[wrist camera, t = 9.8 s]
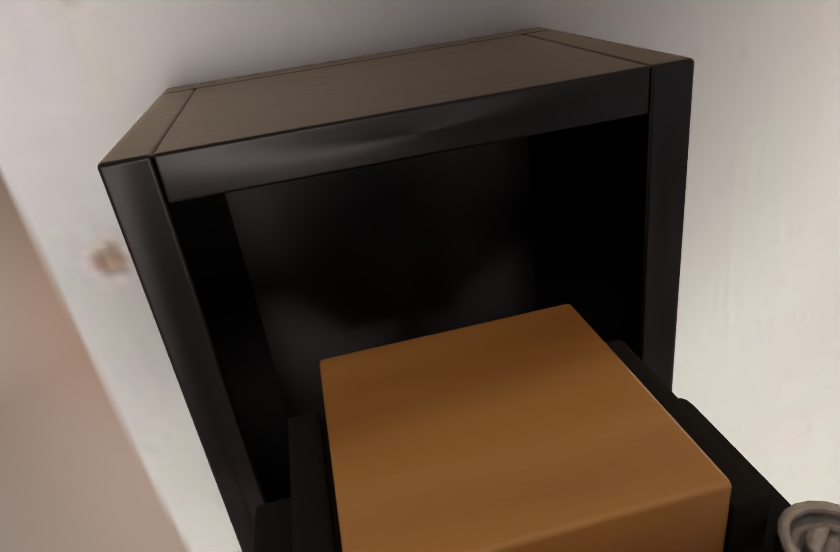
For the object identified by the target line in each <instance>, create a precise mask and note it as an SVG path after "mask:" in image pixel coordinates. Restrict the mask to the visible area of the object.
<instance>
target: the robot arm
mask: <svg viewBox="0 0 840 552" xmlns="http://www.w3.org/2000/svg"><path fill="white" fill-rule="evenodd" d="M606 344H607V345H608V347H609V348H610V349H611V350H612V351H613V352H614V353H615V354H616V355H617V356H618V358H619V359H620V360H621V361H622V362H623V363H624V364H625V365H626V366H627V368H628V369H629V370H630V371H631V372H632V373H633V374H634V375H635V376H636V377H637V379H638V380H639V381H640V382H641V383H642V384H643V385H644V386H645V387H646V389H647V390H648V391H649V392H650V393H651V394H652V395H653V396H654V397H655V398H656V400H657V401H658V402H659V403H660V404H661V405H662V406H663V407H664V408H665V410H666V411H667V412H668V413H669V414H670V415H671V416H672V417H673V418H674V419H675V421H676V422H677V423H678V424H679V425H680V426H681V427H682V428H683V429H684V431H685V432H686V433H687V434H688V435H689V436H690V437H691V438H692V439H693V440H694V442H695V443H696V444H697V445H698V446H699V447H700V448H701V449H702V450H703V452H704V453H705V454H706V455H707V456H708V457H709V458H710V459H711V460H712V461H713V463H714V464H715V465H716V466H717V467H718V468H719V469H720V470H721V471H722V473H723V474H724V475H725V476H726V477H727V478H728V479H729V481H730V483H731V486H732V488H731V496H730V504H729V511H728V519H727V526H726V534H725V541H724V549H723V552H840V505H838V504H834V503H830V502H826V501H805V502H800V503H795V504H793V505H792V506H791V505H790V503H789V502H788V501H787V500H786V499H785V498H784V497H783V496H782V495H781V494H780V493H779V492H778V491H777V490H776V489H775V488H774V487H773V486H772V485H771V484H770V483H769V482H768V481H767V480H766V479H765V478H764V477H763V476H762V475H761V474H760V473H759V472H758V471H757V470H756V469H755V468H754V467H753V466H752V465H751V464H750V463H749V462H748V461H747V460H746V459H745V458H744V456H743V455H742V454H741V453H740V452H739V451H738V450H737V449H736V448H735V447H734V446H733V445H732V444H731V443H730V442H729V441H728V440H727V439H726V438H725V437H724V436H723V435H722V434H721V433H720V432H719V431H718V430H717V429H716V428H715V427H714V426H713V425H712V424H711V423H710V422H709V421H708V420H707V419H706V418H705V417H704V416H703V415H702V414H701V413H700V412H699V411H698V409H697V408H696V407H695V406H694V405H692V404H691V403H690V402H689V401H687V400H685V399H682V398H679V399H678V398H677V397H676V396H675V395H674V394H673V393H672V391H671V390H670V389H669V388H668V387H667V386H666V385H665V384H664V383H663V382H662V381H661V380H660V379H659V378H658V377H657V376H656V375H655V374H654V373H653V372H652V371H651V370H650V369H649V368H648V366H647V365H646V364H645V363H644V362H643V361H642V360H641V359H640V358H639V357H638V356H637V355H636V354H635V353H634V352H633V351H632V350H631V349H630V348H629V347H628V346H627V345H626V344H625V343H624V342H623V341H622V340H615V341H610V342H606ZM288 436H289V463H290V489H291V497H290V498H286V499H282V500H278V501H274V502H270V503H266V504H263V505H259V506H257V508H256V514H255V539H254V552H342V544H341V536H340V528H339V520H338V512H337V504H336V496H335V487H334V479H333V471H332V463H331V455H330V447H329V439H328V431H327V422H326V418H323V419H322V418H321V414H320V412H319V411H317V412H312V413H308V414H304V415H300V416H296V417H291V418H289V419H288Z"/></svg>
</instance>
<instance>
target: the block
mask: <svg viewBox="0 0 840 552" xmlns="http://www.w3.org/2000/svg"><path fill="white" fill-rule="evenodd" d="M319 366H320V374H321V382H322V390H323V398H324V406H325V414H326V422H327V431H328V439H329V447H330V455H331V463H332V471H333V479H334V487H335V496H336V504H337V512H338V520H339V528H340V536H341V544H342V552H723V549H724V541H725V534H726V526H727V519H728V511H729V504H730V496H731V488H732V486H731V483H730V481H729V479H728V478H727V477H726V476H725V475H724V474H723V473H722V471H721V470H720V469H719V468H718V467H717V466H716V465H715V464H714V463H713V461H712V460H711V459H710V458H709V457H708V456H707V455H706V454H705V453H704V452H703V450H702V449H701V448H700V447H699V446H698V445H697V444H696V443H695V442H694V440H693V439H692V438H691V437H690V436H689V435H688V434H687V433H686V432H685V431H684V429H683V428H682V427H681V426H680V425H679V424H678V423H677V422H676V421H675V419H674V418H673V417H672V416H671V415H670V414H669V413H668V412H667V411H666V410H665V408H664V407H663V406H662V405H661V404H660V403H659V402H658V401H657V400H656V398H655V397H654V396H653V395H652V394H651V393H650V392H649V391H648V390H647V389H646V387H645V386H644V385H643V384H642V383H641V382H640V381H639V380H638V379H637V377H636V376H635V375H634V374H633V373H632V372H631V371H630V370H629V369H628V368H627V366H626V365H625V364H624V363H623V362H622V361H621V360H620V359H619V358H618V356H617V355H616V354H615V353H614V352H613V351H612V350H611V349H610V348H609V347H608V345H607V344H606V343H605V342H604V341H603V340H602V339H601V338H600V337H599V335H598V334H597V333H596V332H595V331H594V330H593V329H592V328H591V327H590V326H589V324H588V323H587V322H586V321H585V320H584V319H583V318H582V317H581V316H580V314H579V313H578V312H577V311H576V310H575V309H574V308H573V307H572V306H571V305H570V304H564V305H559V306H555V307H551V308H546V309H542V310H537V311H533V312H529V313H524V314H520V315H515V316H511V317H507V318H502V319H498V320H493V321H489V322H485V323H480V324H476V325H471V326H467V327H463V328H458V329H454V330H449V331H445V332H441V333H436V334H432V335H428V336H423V337H419V338H414V339H410V340H406V341H401V342H397V343H392V344H388V345H384V346H379V347H375V348H370V349H366V350H362V351H357V352H353V353H348V354H344V355H340V356H335V357H331V358H326V359H323V360H321V361H320V364H319Z"/></svg>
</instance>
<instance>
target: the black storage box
mask: <svg viewBox="0 0 840 552" xmlns="http://www.w3.org/2000/svg"><path fill="white" fill-rule="evenodd" d="M693 72H694V60H693V59H692V58H688V57H683V56H678V55H673V54H669V53H664V52H659V51H654V50H649V49H644V48H639V47H634V46H629V45H625V44H620V43H615V42H610V41H605V40H600V39H595V38H590V37H586V36H581V35H576V34H571V33H566V32H561V31H556V30H550V29H546V28H541V27H538V28H532V29H526V30H520V31H514V32H508V33H502V34H496V35H490V36H484V37H478V38H471V39H465V40H459V41H453V42H447V43H441V44H435V45H429V46H423V47H417V48H411V49H405V50H399V51H393V52H387V53H381V54H375V55H369V56H363V57H357V58H351V59H345V60H339V61H333V62H326V63H320V64H314V65H308V66H302V67H296V68H290V69H284V70H278V71H272V72H266V73H260V74H254V75H248V76H242V77H236V78H230V79H224V80H218V81H212V82H206V83H200V84H194V85H187V86H181V87H175V88H169V89H167V90H166V91H165V92H164V93H163V94H162V95H161V96H160V97H159V98H158V99H157V100H156V101H155V102H154V104H153V105H152V106H151V107H150V108H149V109H148V110H147V111H146V112H145V113H144V115H143V116H142V117H141V118H140V119H139V120H138V121H137V122H136V123H135V124H134V125H133V127H132V128H131V129H130V130H129V131H128V132H127V133H126V134H125V135H124V136H123V138H122V139H121V140H120V141H119V142H118V143H117V144H116V145H115V146H114V147H113V149H112V150H111V151H110V152H109V153H108V154H107V155H106V156H105V157H104V158H103V160H102V161H101V162H100V163H99V164H98V170H99V173H100V176H101V178H102V181H103V183H104V186H105V189H106V191H107V194H108V197H109V199H110V202H111V205H112V207H113V210H114V213H115V215H116V218H117V221H118V223H119V226H120V229H121V231H122V234H123V237H124V239H125V242H126V244H127V247H128V250H129V252H130V255H131V258H132V260H133V263H134V266H135V268H136V271H137V274H138V276H139V279H140V282H141V284H142V287H143V290H144V292H145V295H146V297H147V300H148V303H149V305H150V308H151V311H152V313H153V316H154V319H155V321H156V324H157V327H158V329H159V332H160V335H161V337H162V340H163V343H164V345H165V348H166V351H167V353H168V356H169V358H170V361H171V364H172V366H173V369H174V372H175V374H176V377H177V380H178V382H179V385H180V388H181V390H182V393H183V396H184V398H185V401H186V404H187V406H188V409H189V412H190V414H191V417H192V419H193V422H194V425H195V427H196V430H197V433H198V435H199V438H200V441H201V443H202V446H203V449H204V451H205V454H206V457H207V459H208V462H209V465H210V467H211V470H212V473H213V475H214V478H215V480H216V483H217V486H218V488H219V491H220V494H221V496H222V499H223V502H224V504H225V507H226V510H227V512H228V515H229V518H230V520H231V523H232V526H233V528H234V531H235V534H236V536H237V539H238V541H239V544H240V547H241V549H242V552H254V539H255V514H256V508H257V506H259V505H263V504H266V503H270V502H274V501H278V500H282V499H286V498H290V497H291V489H290V463H289V436H288V419H289V418H291V417H296V416H300V415H304V414H308V413H312V412H317V411H319V412H320V414H321V418H322V419H323V418H326V414H325V406H324V398H323V390H322V382H321V374H320V366H319V364H320V361H321V360H323V359H326V358H331V357H335V356H340V355H344V354H348V353H353V352H357V351H362V350H366V349H370V348H375V347H379V346H384V345H388V344H392V343H397V342H401V341H406V340H410V339H414V338H419V337H423V336H428V335H432V334H436V333H441V332H445V331H449V330H454V329H458V328H463V327H467V326H471V325H476V324H480V323H485V322H489V321H493V320H498V319H502V318H507V317H511V316H515V315H520V314H524V313H529V312H533V311H537V310H542V309H546V308H551V307H555V306H559V305H564V304H570V305H571V306H572V307H573V308H574V309H575V310H576V311H577V312H578V313H579V314H580V316H581V317H582V318H583V319H584V320H585V321H586V322H587V323H588V324H589V326H590V327H591V328H592V329H593V330H594V331H595V332H596V333H597V334H598V335H599V337H600V338H601V339H602V340H603V341H604V342H605V343H606V342H610V341H615V340H622V341H623V342H624V343H625V344H626V345H627V346H628V347H629V348H630V349H631V350H632V351H633V352H634V353H635V354H636V355H637V356H638V357H639V358H640V359H641V360H642V361H643V362H644V363H645V364H646V365H647V366H648V368H649V369H650V370H651V371H652V372H653V373H654V374H655V375H656V376H657V377H658V378H659V379H660V380H661V381H662V382H663V383H664V384H665V385H666V386H667V387H668V388H669V389H670V390H671V391H672V381H673V366H674V351H675V337H676V322H677V307H678V292H679V278H680V263H681V248H682V234H683V219H684V204H685V190H686V175H687V160H688V146H689V131H690V116H691V102H692V87H693Z"/></svg>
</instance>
